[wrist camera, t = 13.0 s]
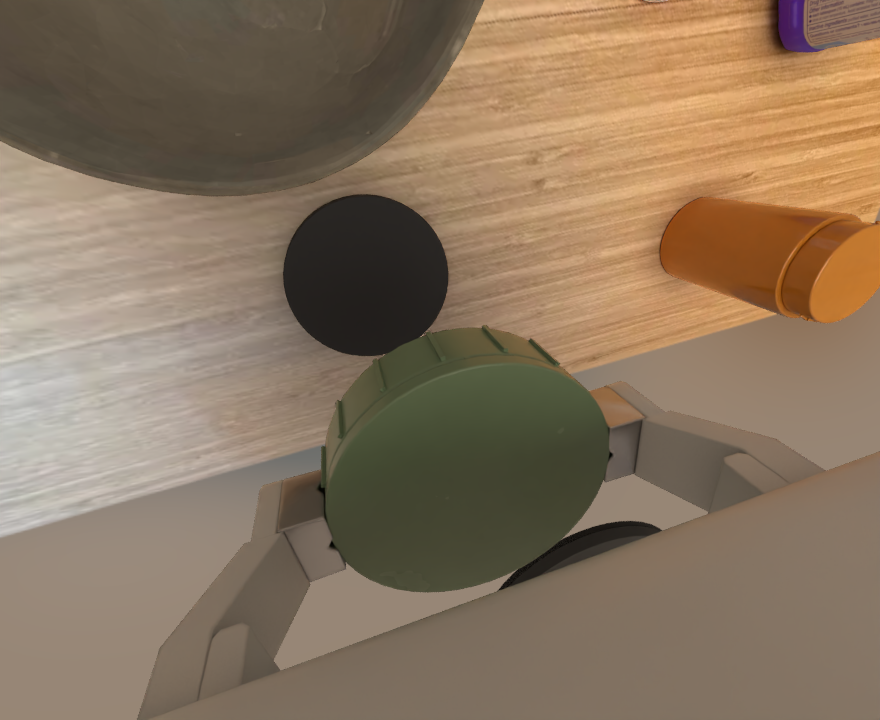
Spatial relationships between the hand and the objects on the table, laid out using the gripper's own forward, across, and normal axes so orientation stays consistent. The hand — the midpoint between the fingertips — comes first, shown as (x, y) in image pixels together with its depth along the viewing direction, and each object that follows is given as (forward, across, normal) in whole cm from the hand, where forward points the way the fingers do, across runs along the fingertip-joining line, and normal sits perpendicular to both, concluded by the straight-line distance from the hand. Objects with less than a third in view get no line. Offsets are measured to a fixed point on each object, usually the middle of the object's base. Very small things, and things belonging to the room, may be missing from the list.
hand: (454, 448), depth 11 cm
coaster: (+17, 0, 0) cm, 17 cm away
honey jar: (+17, -24, +3) cm, 30 cm away
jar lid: (-1, 0, 0) cm, 1 cm away
